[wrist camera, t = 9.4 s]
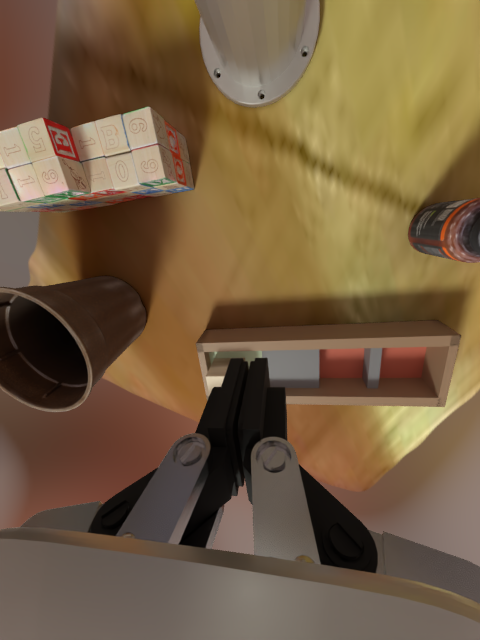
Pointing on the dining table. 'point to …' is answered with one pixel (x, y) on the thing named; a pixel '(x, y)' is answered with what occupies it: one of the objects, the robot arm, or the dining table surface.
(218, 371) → the birch block
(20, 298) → the plant pot
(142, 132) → the stack of blocks
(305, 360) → the track
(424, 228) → the supplement bottle
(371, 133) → the dining table surface
